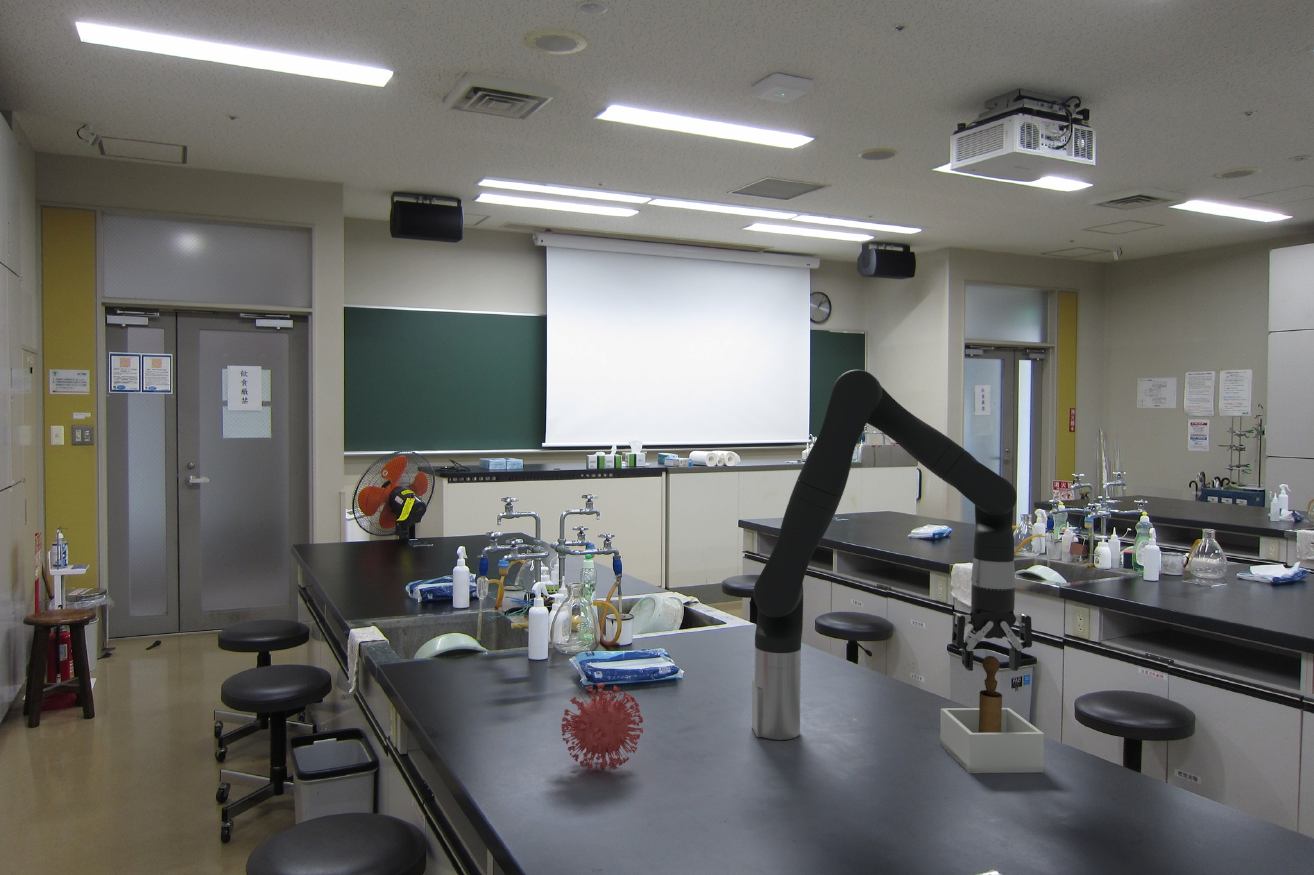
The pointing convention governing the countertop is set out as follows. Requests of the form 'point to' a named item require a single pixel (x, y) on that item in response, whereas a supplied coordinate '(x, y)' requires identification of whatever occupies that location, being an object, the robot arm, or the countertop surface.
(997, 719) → the mortar and pestle
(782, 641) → the robot arm
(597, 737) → the virus model
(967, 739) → the box
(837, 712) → the countertop surface
